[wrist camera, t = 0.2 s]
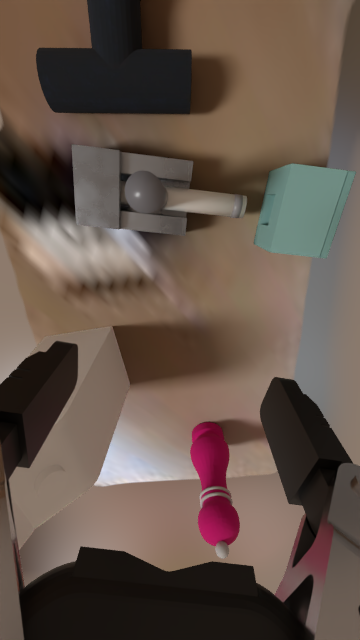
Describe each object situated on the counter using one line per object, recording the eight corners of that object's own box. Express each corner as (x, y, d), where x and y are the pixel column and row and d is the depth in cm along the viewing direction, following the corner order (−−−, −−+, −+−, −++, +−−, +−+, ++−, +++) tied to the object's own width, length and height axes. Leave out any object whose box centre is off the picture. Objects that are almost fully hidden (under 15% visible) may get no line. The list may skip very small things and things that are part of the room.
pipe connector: (10, -75, 21) (194, -73, 21) (42, -24, 26) (191, -22, 26) (42, 103, 26) (190, 105, 26) (63, 118, 30) (188, 119, 31)
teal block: (269, 171, 32) (291, 163, 26) (321, 178, 33) (356, 171, 26) (253, 243, 36) (269, 252, 30) (300, 249, 37) (326, 258, 30)
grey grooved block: (87, 153, 32) (71, 144, 27) (191, 166, 32) (193, 159, 27) (90, 221, 35) (76, 224, 30) (184, 232, 35) (185, 236, 31)
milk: (45, 336, 42) (-125, 505, 19) (112, 326, 41) (25, 487, 18) (69, 392, 47) (-40, 583, 23) (130, 384, 46) (80, 571, 23)
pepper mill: (183, 438, 52) (186, 564, 34) (200, 415, 50) (213, 537, 31) (213, 449, 54) (232, 575, 35) (231, 427, 51) (261, 551, 33)
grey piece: (101, 177, 32) (50, 158, 19) (243, 194, 33) (285, 188, 20) (102, 203, 33) (54, 203, 20) (238, 219, 34) (275, 228, 21)
